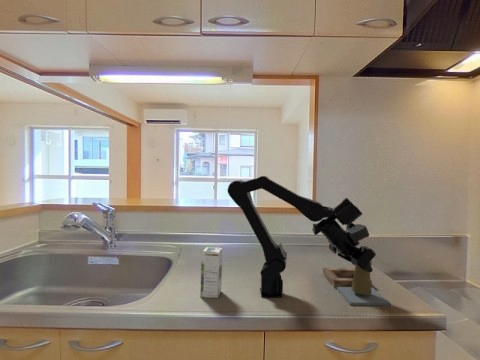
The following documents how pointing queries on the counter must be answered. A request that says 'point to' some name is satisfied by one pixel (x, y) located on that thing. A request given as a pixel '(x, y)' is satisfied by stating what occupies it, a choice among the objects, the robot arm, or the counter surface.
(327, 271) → the frame
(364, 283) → the cork
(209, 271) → the syrup box
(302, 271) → the counter surface
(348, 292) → the blue gray mat
